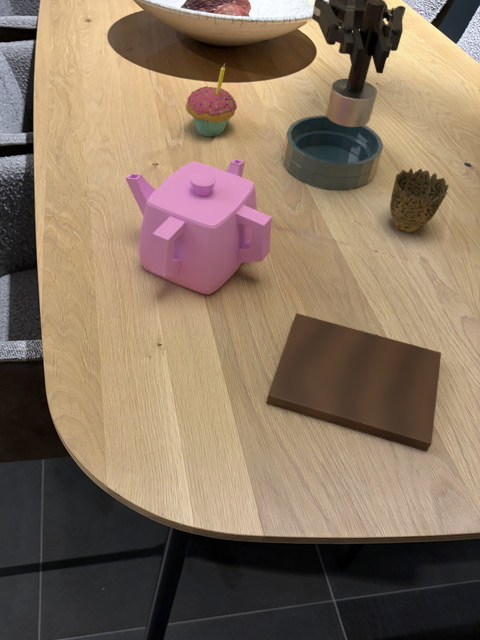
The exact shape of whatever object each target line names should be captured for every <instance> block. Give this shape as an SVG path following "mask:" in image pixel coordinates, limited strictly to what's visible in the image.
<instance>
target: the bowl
mask: <svg viewBox="0 0 480 640" xmlns="http://www.w3.org/2000/svg"><path fill="white" fill-rule="evenodd" d="M383 148H384V144H383V140H382V138H381V137H380V136H379V135H378V133H376V131H375V130H373V129H372V128H371V127H369V126H367V125H363V126H359V127H347V126H342V125H339V124H336V123H334V122H332V121H331V120H330V119H328V117H327V116H326V114H325V115H324V114H323V115H322V114H321V115H319V114H318V115H311V116H306V117H303V118H299V119H297V120H296V121H294V122H292V124H290V125H289V127H288V129H287V130H286V135H285V141H284V146H283V151H282V164H283V167H284V168H285V170H286V171H287V172H288V173H289V174H290V175H291V176H293V177H294V178H295V179H297V180H299V181H300V182H303V183H305V184H307V185H309V186H312V187H315V188H319V189H323V190H331V191H332V190H333V191H346V190H353V189H358V188H362V187H363V186H365V185H368V184H369V183H370V182H371V181H372V180H374V178H375V174H376V171H377V168H378V165H379V162H380V159H381V154H382V151H383Z"/></svg>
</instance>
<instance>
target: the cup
mask: <svg viewBox="0 0 480 640" xmlns="http://www.w3.org/2000/svg"><path fill="white" fill-rule="evenodd" d="M448 190H449V184H447V182H446V179H445V178H444V177H441V178H438V174H437V173H436V172H435V173H433V174H431V175H430V171H429V170H428V169H427V170H423V169H422V168H419V169H418V170H416V171H415V172H414V171H413V168H410V169H409V170H408V171H407V170H404V169H401V170H400V172H398V173H396V175H395V180H394V183H393V186H392V192H391V196H390V204H389V211H390V214H391V217H392V218H393V226H394V228H395V229H396V230H397V231H399V232H401V233H404V234H413V233H416V232H417V231H418V229H419V228H420V227H422V226H424V225H426V224H428V223H430V221H431V220H432V219H433V217H434V216H435V215H436V213H437V212H438V210H439V208H440V207H441V205H442V203H443V201H444V199H445V197H446V196H447V194H448Z"/></svg>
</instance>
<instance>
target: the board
mask: <svg viewBox="0 0 480 640" xmlns="http://www.w3.org/2000/svg"><path fill="white" fill-rule="evenodd" d="M441 358H442V352H440V351H436V350H433V349H429V348H426V347H421V346H418V345H415V344H411V343H407V342H405V341H399V340H397V339H394V338H393V339H391V338H389V337H385V336H382V335H379V334H375V333H370V332H367V331H363V330H360V329H356V328H352V327H349V326H345V325H341V324H337V323H334V322H330V321H326V320H323V319H319V318H315V317H312V316H308V315H305V314H302V313H297V312H296V313H295V316H294V318H293V322H292V325H291V327H290V329H289V333H288V336H287V339H286V341H285V345H284V348H283V351H282V354H281V357H280V359H279V362H278V365H277V368H276V371H275V374H274V377H273V379H272V383H271V385H270V387H269V391H268V394H267V399H266V404H268V405H272V406H274V407H275V406H276V407H279V408H282V409H285V410H288V411H292V412H295V413H298V414H301V415H304V416H308V417H311V418H315V419H318V420H322V421H325V422H329V423H332V424H334V425H338V426H341V427H345V428H347V429H350V430H351V429H352V430H354V431H357V432H361V433H365V434H368V435H371V436H374V437H377V438H381V439H385V440H387V441H391V442H395V443H397V444H398V443H399V444H402V445H405V446H408V447H411V448H415V449H417V450H421V451H424V452H428V451H429V448H430V447H431V446H432V443H433V433H434V425H435V424H434V422H435V416H436V415H435V414H436V404H437V395H438V387H439V377H440V368H441Z"/></svg>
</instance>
